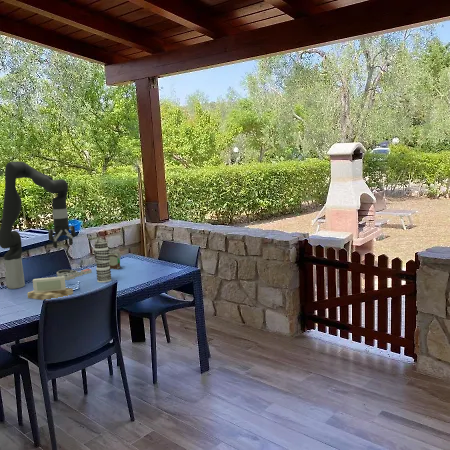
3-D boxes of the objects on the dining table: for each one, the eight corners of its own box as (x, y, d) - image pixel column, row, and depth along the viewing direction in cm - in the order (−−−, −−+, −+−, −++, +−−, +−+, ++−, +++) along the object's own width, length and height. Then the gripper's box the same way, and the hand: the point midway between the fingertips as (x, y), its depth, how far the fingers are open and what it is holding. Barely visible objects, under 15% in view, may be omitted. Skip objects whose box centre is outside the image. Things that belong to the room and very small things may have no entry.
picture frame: (33, 293, 244) (32, 280, 243) (35, 291, 248) (33, 278, 247) (64, 290, 247) (63, 277, 246) (65, 288, 251) (64, 275, 250)
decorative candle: (95, 283, 268) (91, 242, 264) (97, 279, 277) (93, 239, 273) (111, 281, 270) (107, 240, 266) (112, 277, 279) (109, 237, 275)
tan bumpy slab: (27, 298, 246) (27, 292, 246) (46, 290, 258) (45, 285, 257) (55, 301, 238) (55, 295, 237) (73, 293, 250) (72, 288, 249)
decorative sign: (63, 278, 276) (46, 273, 288) (63, 282, 276) (46, 277, 289) (94, 269, 292) (76, 266, 305) (94, 273, 293) (76, 269, 305)
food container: (126, 267, 302) (124, 253, 300) (119, 270, 297) (117, 255, 295) (112, 266, 308) (111, 251, 307) (106, 268, 303) (104, 253, 302)
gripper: (69, 214, 251) (72, 243, 253) (44, 218, 241) (47, 248, 243) (76, 215, 246) (78, 245, 248) (51, 219, 235) (54, 249, 238)
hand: (63, 246), depth 246 cm, fingers open, 8 cm apart
